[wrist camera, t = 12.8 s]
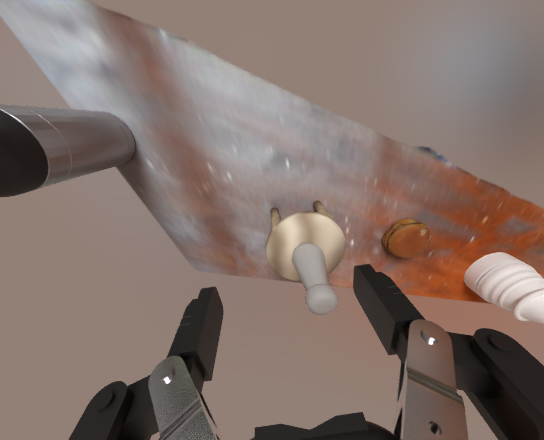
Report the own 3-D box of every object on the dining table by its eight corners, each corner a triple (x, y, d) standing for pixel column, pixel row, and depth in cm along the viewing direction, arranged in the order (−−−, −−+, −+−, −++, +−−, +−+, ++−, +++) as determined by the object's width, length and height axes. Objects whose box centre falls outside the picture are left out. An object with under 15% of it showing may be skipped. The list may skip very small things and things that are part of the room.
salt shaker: (325, 242, 37) (353, 296, 26) (313, 265, 40) (335, 325, 28) (296, 234, 37) (311, 287, 25) (286, 259, 39) (296, 318, 27)
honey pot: (454, 278, 57) (530, 341, 40) (495, 244, 52) (600, 300, 36) (481, 294, 60) (562, 358, 44) (522, 263, 55) (630, 322, 39)
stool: (271, 257, 51) (273, 286, 42) (260, 202, 44) (259, 222, 35) (330, 248, 50) (345, 275, 41) (328, 190, 44) (345, 208, 35)
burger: (377, 250, 51) (387, 261, 47) (388, 217, 47) (400, 226, 43) (413, 251, 52) (427, 262, 48) (427, 218, 48) (443, 227, 44)
